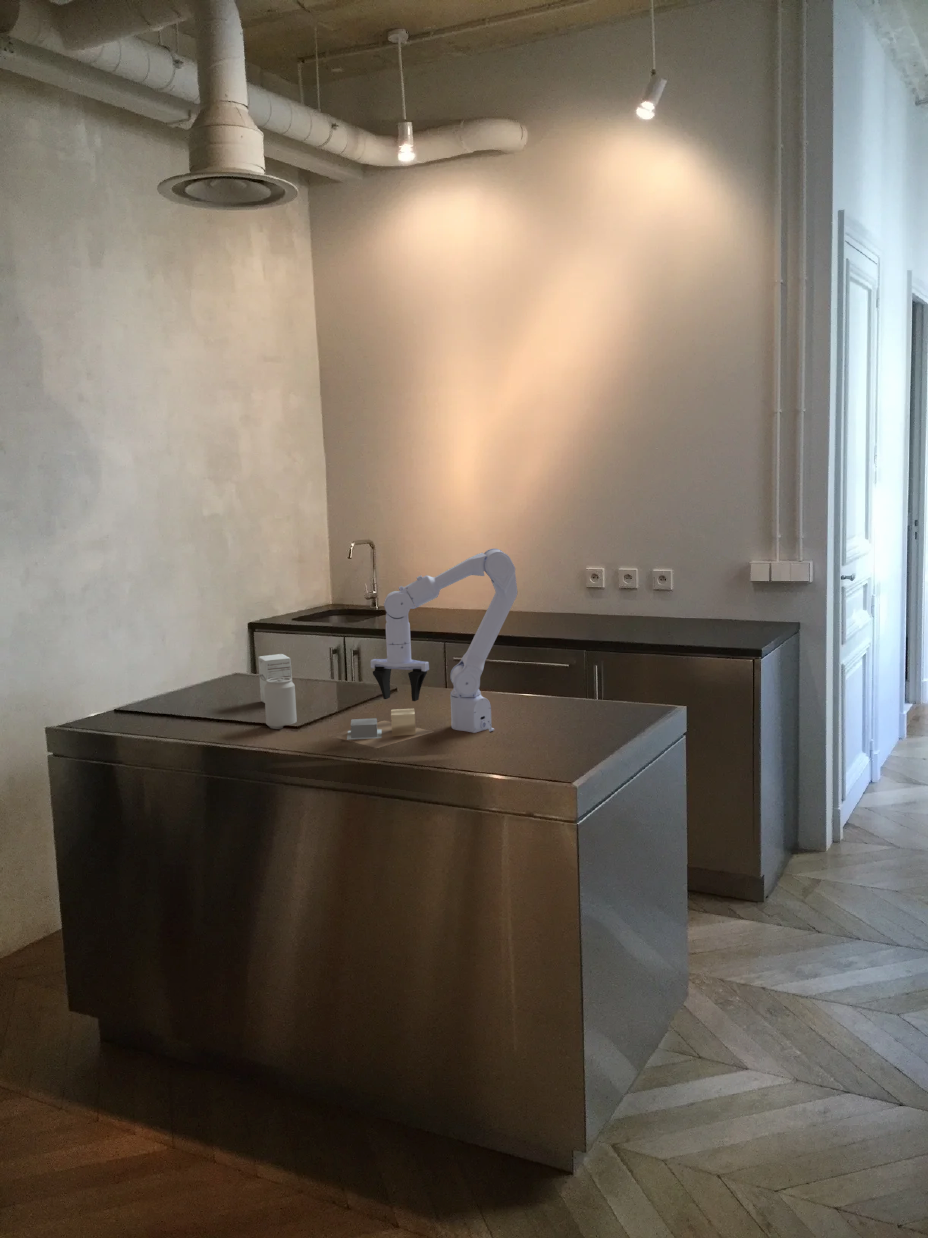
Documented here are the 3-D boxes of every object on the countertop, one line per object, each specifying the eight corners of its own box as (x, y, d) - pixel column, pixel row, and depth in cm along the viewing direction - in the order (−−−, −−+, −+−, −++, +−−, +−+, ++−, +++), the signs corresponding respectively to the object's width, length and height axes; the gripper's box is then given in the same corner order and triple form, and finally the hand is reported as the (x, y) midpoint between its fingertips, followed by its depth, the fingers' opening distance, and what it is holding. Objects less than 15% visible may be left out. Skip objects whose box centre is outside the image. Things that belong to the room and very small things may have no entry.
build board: (435, 735, 259) (435, 731, 259) (377, 752, 246) (377, 748, 246) (385, 724, 271) (384, 720, 271) (327, 739, 259) (327, 735, 259)
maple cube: (415, 734, 257) (414, 714, 256) (392, 736, 256) (391, 715, 255) (415, 729, 262) (414, 708, 261) (391, 730, 262) (391, 709, 261)
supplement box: (260, 701, 302) (257, 656, 300) (286, 698, 305) (283, 653, 303) (267, 706, 295) (264, 660, 293) (294, 703, 298) (291, 657, 296)
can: (260, 728, 272) (257, 680, 270) (278, 721, 278) (276, 674, 276) (284, 731, 268) (281, 683, 266) (303, 723, 275) (300, 676, 273)
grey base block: (377, 737, 256) (376, 724, 255) (351, 738, 255) (350, 725, 255) (377, 730, 262) (376, 718, 261) (352, 731, 261) (351, 719, 261)
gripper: (433, 641, 258) (436, 697, 261) (379, 638, 264) (382, 693, 267) (420, 646, 252) (422, 704, 254) (365, 643, 258) (367, 700, 260)
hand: (401, 699), depth 260 cm, fingers open, 7 cm apart
